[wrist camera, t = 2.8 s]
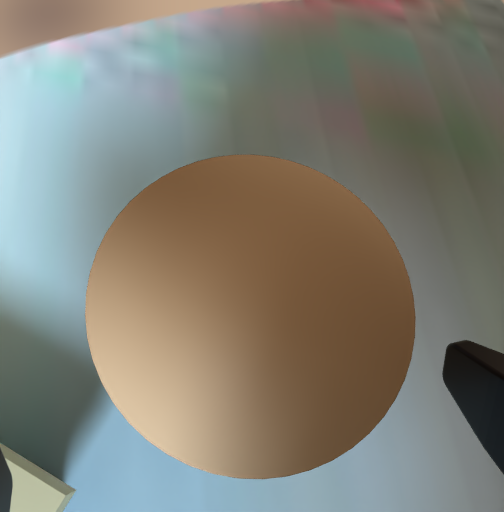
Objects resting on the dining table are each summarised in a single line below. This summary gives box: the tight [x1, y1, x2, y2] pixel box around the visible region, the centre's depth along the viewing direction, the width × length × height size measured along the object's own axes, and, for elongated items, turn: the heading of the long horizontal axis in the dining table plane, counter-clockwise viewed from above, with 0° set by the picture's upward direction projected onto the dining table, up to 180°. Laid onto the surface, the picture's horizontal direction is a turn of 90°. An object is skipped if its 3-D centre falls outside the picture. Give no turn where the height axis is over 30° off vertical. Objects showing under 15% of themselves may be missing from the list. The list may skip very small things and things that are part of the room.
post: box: [85, 155, 415, 479], centre depth 12 cm, size 4×4×12 cm
